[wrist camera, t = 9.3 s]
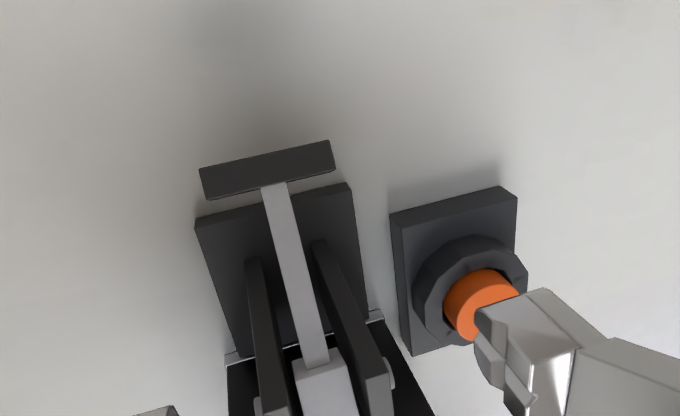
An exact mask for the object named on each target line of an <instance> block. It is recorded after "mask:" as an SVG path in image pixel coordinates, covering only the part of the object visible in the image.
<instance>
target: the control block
mask: <svg viewBox="0 0 680 416" xmlns="http://www.w3.org/2000/svg"><path fill="white" fill-rule="evenodd" d="M517 199H518V198H517V197H516V196H515V195H513V194H512V193H510V192H509V191H507V190H505V189H504V188H502V187H501V186H497V187H493V188H489V189H486V190H482V191H478V192H474V193H470V194H466V195H463V196H459V197H455V198H451V199H447V200H444V201H440V202H436V203H432V204H428V205H424V206H421V207H417V208H413V209H409V210H405V211H401V212H398V213H394V214H390V224H391V234H392V245H393V255H394V265H395V275H396V286H397V296H398V306H399V316H400V326H401V337H402V340H403V342H404V344H405V346H406V347H407V349H408V351H409V353H410V355H411V356H412V357H414V356H417V355H420V354H424V353H427V352H430V351H433V350H436V349H439V348H442V347H445V346H448V345H451V344H452V345H459V346H466V345H469V344H472V343H474V342H473V341H469V340H466V339H464V338H463V337H462V336H460V334H459V333H458V332H457V330H456V329H455V328H454V326H453V325H452V323H451V322H450V321H449V319H448V318H447V317H446V315H445V312H444V299H445V296H446V294H447V292H448V291H449V289H450V287H451V286H452V285H453V284H454V283H455V282H456V281H458V280H459V279H460V278H461V277H463V276H464V275H465V274H466V273H468V272H471V271H474V270H478V269H491V270H494V271H496V272H498V273H499V274H500V275H502V276H503V277H504V278H505V279H506V280H507V281H508V282H509V283H510V284H511V285H512V286H513V287H514V288H515V289H516V290H517V291H518V293H519V295H521V294H523V293H526V292H527V285H528V271H527V270H526V269H525V267H524V266H523V264H522V263H521V261H520V260H519V258H518V257H517V255H515V254H514V248H515V231H516V215H517Z"/></svg>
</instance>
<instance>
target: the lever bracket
mask: <svg viewBox="0 0 680 416" xmlns="http://www.w3.org/2000/svg"><path fill="white" fill-rule="evenodd" d="M290 200H291V204H292V208H293V212H294V216H295V220H296V224H297V228H298V232H299V236H300V240H301V244H302V248H303V252H304V256H305V260H306V264H307V268H308V272H309V276H310V280H311V284H312V288H313V292H314V296H315V300H316V304H317V308H318V312H319V316H320V320H321V324H322V328H323V332H324V333H325V332H328V331H331V330H333V333H334V335H335V338H336V341H337V344H338V346H339V349H340V352H341V354H342V357H343V359H344V361H345V363H346V365H347V368H348V372H349V376H350V379H351V382H352V384H353V387H354V390H355V393H356V395H357V398H358V401H359V404H360V406H361V409H362V412H363V415H364V416H394V408H393V400H392V392H391V390H392V389H394V388H395V381H394V377H393V373H392V370H391V367H390V365H389V363H388V361H387V359H386V358H385V357H382V356H381V354H380V352H379V350H378V348H377V346H376V343H375V341H374V339H373V337H372V335H371V333H370V331H369V329H368V327H367V325H366V322H365V320H368V319H369V311H368V304H367V297H366V290H365V282H364V275H363V268H362V261H361V254H360V247H359V240H358V233H357V226H356V219H355V212H354V205H353V198H352V191H351V189H350V187H349V186H348V184H347V183H346V182H344V183H340V184H336V185H332V186H328V187H324V188H319V189H315V190H311V191H307V192H303V193H299V194H295V195H291V196H290ZM194 229H195V232H196V235H197V238H198V241H199V243H200V246H201V249H202V252H203V255H204V258H205V261H206V263H207V266H208V269H209V272H210V275H211V278H212V281H213V284H214V286H215V289H216V292H217V295H218V298H219V301H220V304H221V306H222V309H223V312H224V315H225V318H226V321H227V324H228V326H229V329H230V332H231V335H232V338H233V341H234V344H235V346H236V349H237V352H238V355H239V357H240V358H242V357H245V356H249V355H252V354H255V359H256V368H257V376H258V384H259V392H260V397H256V398H254V410H255V415H256V416H297V414H296V410H295V405H294V400H293V395H292V390H291V385H290V380H289V375H288V371H287V366H286V361H285V356H284V351H283V346H282V345H285V344H288V343H292V342H295V341H298V336H297V332H296V328H295V324H294V320H293V316H292V312H291V308H290V304H289V300H288V296H287V292H286V288H285V284H284V280H283V277H282V273H281V269H280V265H279V261H278V257H277V253H276V249H275V245H274V241H273V237H272V233H271V229H270V225H269V221H268V217H267V213H266V209H265V205H264V202H262V203H258V204H254V205H250V206H246V207H241V208H237V209H233V210H229V211H225V212H221V213H217V214H213V215H209V216H204V217H200V218H196V219H195V227H194Z"/></svg>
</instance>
